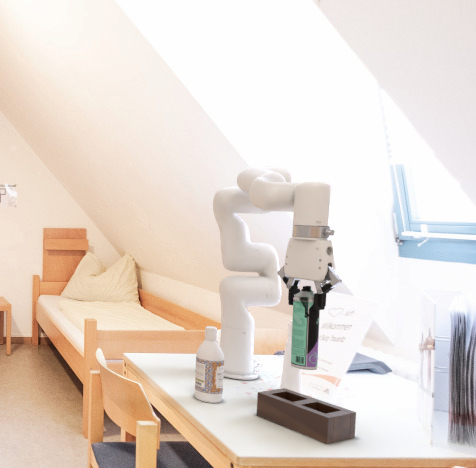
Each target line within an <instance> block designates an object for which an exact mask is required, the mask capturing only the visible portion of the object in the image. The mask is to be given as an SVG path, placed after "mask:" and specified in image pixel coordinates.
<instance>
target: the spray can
mask: <svg viewBox="0 0 476 468" xmlns="http://www.w3.org/2000/svg"><path fill="white" fill-rule="evenodd" d="M314 294H315V291H313V290H312V286H311V285H303V286H302V289H300V292H299V293H297V294H294V298H293V305H292V320H293V321H292V347H291V366H292V367H295V368H298V369H301V370H305V371H316V370H318V363H319V362H318V360H319V359H318V358H319V334H320V312H321V310H314V309H313V305H314Z"/></svg>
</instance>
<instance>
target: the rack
mask: <svg viewBox="0 0 476 468" xmlns="http://www.w3.org/2000/svg"><path fill="white" fill-rule="evenodd" d="M256 416H257V417H259V418H261V419H264V420H267V421H269V422H272V423H274V424H277V425H280V426H282V427H284V428H287V429H289V430H291V431H293V432H296V433H299V434H301V435H303V436H306V437H308V438H311V439H314V440H315V441H318V442H321V443H323V444H325V445H328V444H329V445H330V444H333V443H337V442H342V441H346V440H350V439H354V438H355V437H356V422H357V421H356V420H357V412H356V411H354V410H351V409H347V408H345V407H342V406H338V405H337V404H333V403H330V402H326V401H324V400H321V399H318V398H315V397H312V396H309V395H305V394H303V393H302V394H300V393H297V392H294V391H291V390H288V389H285V388H282V389H280V388H276V389H275V388H274V389H269V390H263V391H258V392H257V401H256Z"/></svg>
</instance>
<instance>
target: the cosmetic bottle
mask: <svg viewBox="0 0 476 468" xmlns="http://www.w3.org/2000/svg"><path fill="white" fill-rule="evenodd" d="M292 321H293V319H289V323H288V327H287V340H285V343H284V351H283V364H282V373H281V380H280V381H281V382H280V385H279V389H282V388H285V389H288V390H291V391H294V392H297V393H300V394H303V387H302V386H303V383H302V381H303V380H302V369H298V368H295V367H292V366H291V347H292Z"/></svg>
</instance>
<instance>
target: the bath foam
mask: <svg viewBox="0 0 476 468" xmlns="http://www.w3.org/2000/svg"><path fill="white" fill-rule="evenodd" d="M204 329H205V330H204V340H203V341H202V342H201V344H200V345H199V346H198V348H197V351H196V354H195V372H194V376H195V377H194V398H196V399H198V401H201V402H205V403H210V404H218V403H221V402H222V401H223V395H224V393H223V392H224V376H223V373H224V354H223V351H222V349H221V347H220V343H219V342H218V340H217V339H218V328H217V327H216V326H212V325H206V326H205V328H204Z"/></svg>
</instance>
